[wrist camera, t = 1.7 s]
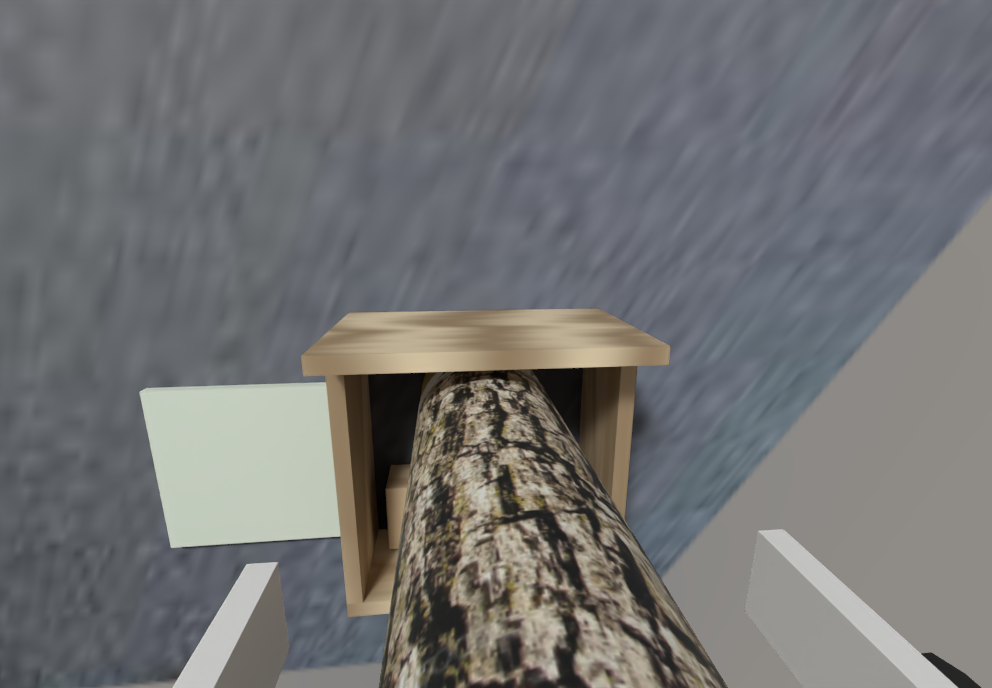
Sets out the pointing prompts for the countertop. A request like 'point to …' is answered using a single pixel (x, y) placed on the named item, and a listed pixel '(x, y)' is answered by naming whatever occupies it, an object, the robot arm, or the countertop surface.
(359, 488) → the wooden open box
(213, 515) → the felt mat
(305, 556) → the countertop surface
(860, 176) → the countertop surface
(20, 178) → the countertop surface
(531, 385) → the wooden log
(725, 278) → the countertop surface
